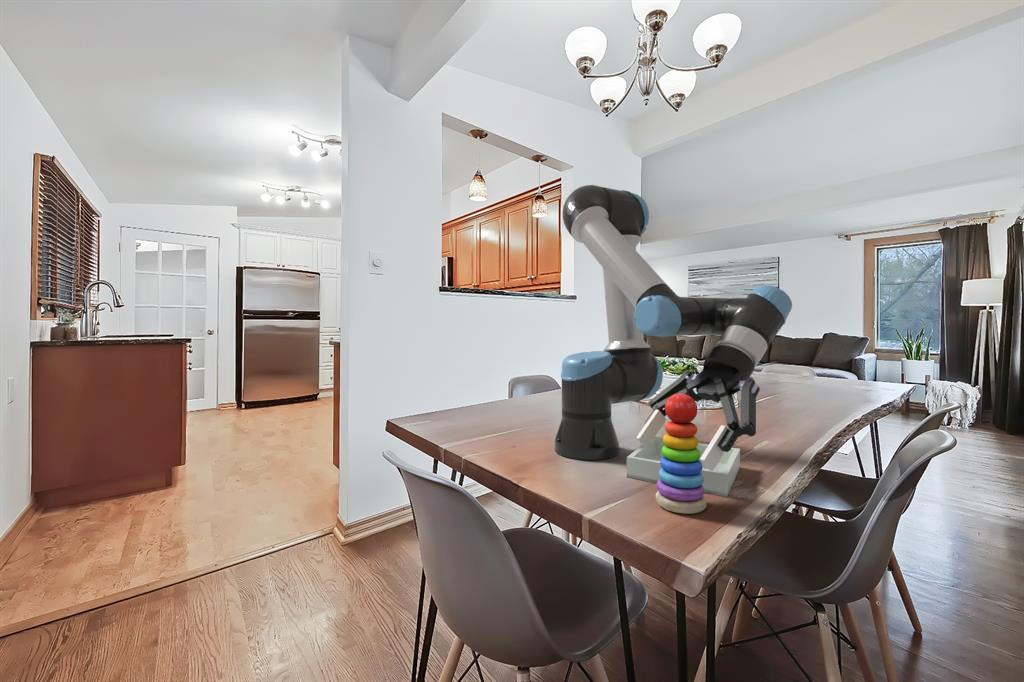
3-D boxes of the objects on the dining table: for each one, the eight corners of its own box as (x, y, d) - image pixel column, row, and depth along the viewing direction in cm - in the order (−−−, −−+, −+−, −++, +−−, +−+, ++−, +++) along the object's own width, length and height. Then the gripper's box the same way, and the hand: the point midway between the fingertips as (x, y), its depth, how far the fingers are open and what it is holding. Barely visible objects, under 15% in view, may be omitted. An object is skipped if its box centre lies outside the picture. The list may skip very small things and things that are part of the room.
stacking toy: (717, 512, 70) (719, 396, 69) (675, 519, 67) (676, 399, 67) (684, 493, 77) (685, 389, 76) (646, 499, 75) (646, 391, 74)
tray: (626, 477, 86) (626, 457, 85) (652, 453, 101) (652, 436, 100) (727, 497, 76) (727, 474, 75) (739, 467, 90) (740, 448, 90)
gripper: (818, 379, 67) (753, 492, 61) (688, 365, 89) (631, 447, 83) (797, 346, 64) (728, 460, 58) (669, 340, 87) (609, 423, 81)
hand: (671, 453), depth 71 cm, fingers open, 13 cm apart
